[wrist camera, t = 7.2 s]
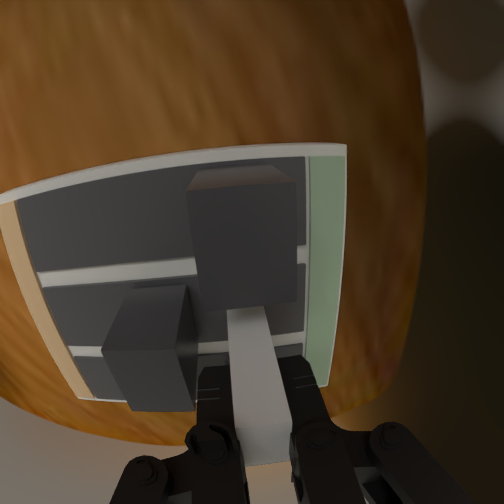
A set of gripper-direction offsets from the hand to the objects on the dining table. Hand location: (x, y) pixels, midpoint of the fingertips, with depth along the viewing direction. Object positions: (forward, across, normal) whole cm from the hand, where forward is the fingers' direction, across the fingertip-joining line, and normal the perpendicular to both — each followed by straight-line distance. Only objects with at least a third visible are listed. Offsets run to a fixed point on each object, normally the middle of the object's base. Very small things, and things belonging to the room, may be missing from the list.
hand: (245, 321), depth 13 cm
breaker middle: (+2, -4, 0) cm, 4 cm away
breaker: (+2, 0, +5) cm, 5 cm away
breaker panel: (+4, -4, 0) cm, 5 cm away
